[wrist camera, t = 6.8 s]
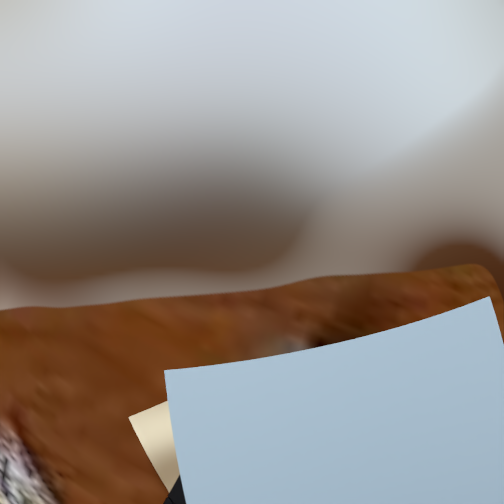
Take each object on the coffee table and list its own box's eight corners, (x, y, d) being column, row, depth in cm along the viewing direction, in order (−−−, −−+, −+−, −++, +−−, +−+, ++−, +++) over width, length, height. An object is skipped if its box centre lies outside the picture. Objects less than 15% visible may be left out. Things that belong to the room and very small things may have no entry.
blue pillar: (343, 459, 13) (514, 539, 2) (250, 478, 13) (233, 642, 1) (327, 375, 15) (489, 296, 4) (235, 392, 15) (164, 370, 4)
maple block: (311, 463, 18) (321, 476, 15) (204, 511, 17) (195, 530, 13) (252, 366, 22) (251, 360, 18) (148, 414, 20) (128, 417, 17)
